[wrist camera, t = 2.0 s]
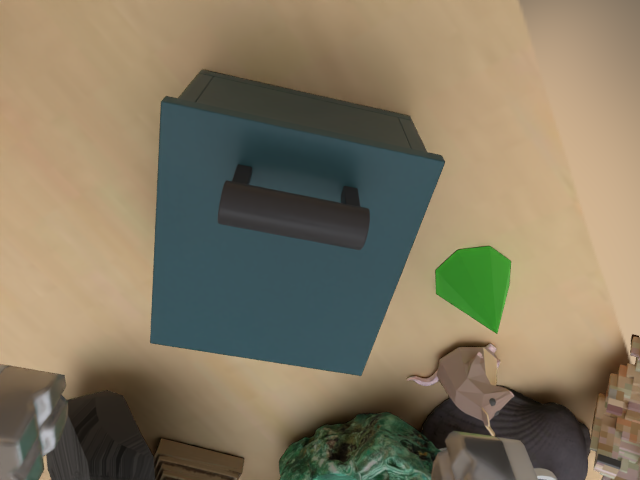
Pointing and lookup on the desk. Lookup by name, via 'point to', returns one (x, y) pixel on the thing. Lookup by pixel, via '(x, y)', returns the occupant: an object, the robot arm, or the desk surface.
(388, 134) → the box
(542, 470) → the wrench
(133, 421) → the mask
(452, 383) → the mouse figurine
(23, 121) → the desk surface
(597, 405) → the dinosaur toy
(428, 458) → the mineral
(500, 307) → the gemstone
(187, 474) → the banker's lamp
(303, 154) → the cooler lid
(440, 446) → the seashell
